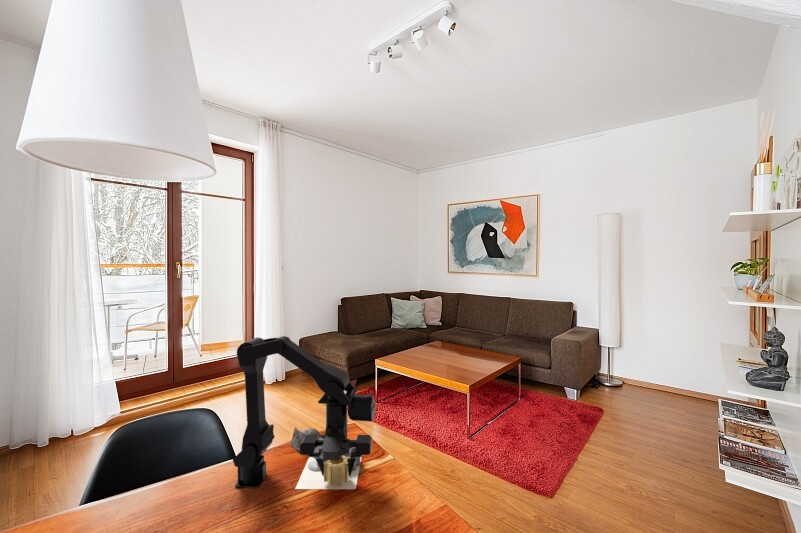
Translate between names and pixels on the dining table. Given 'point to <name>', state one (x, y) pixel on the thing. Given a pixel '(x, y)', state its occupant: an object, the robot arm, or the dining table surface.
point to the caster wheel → (300, 435)
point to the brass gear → (337, 471)
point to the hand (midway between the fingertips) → (336, 475)
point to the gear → (357, 462)
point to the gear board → (322, 478)
